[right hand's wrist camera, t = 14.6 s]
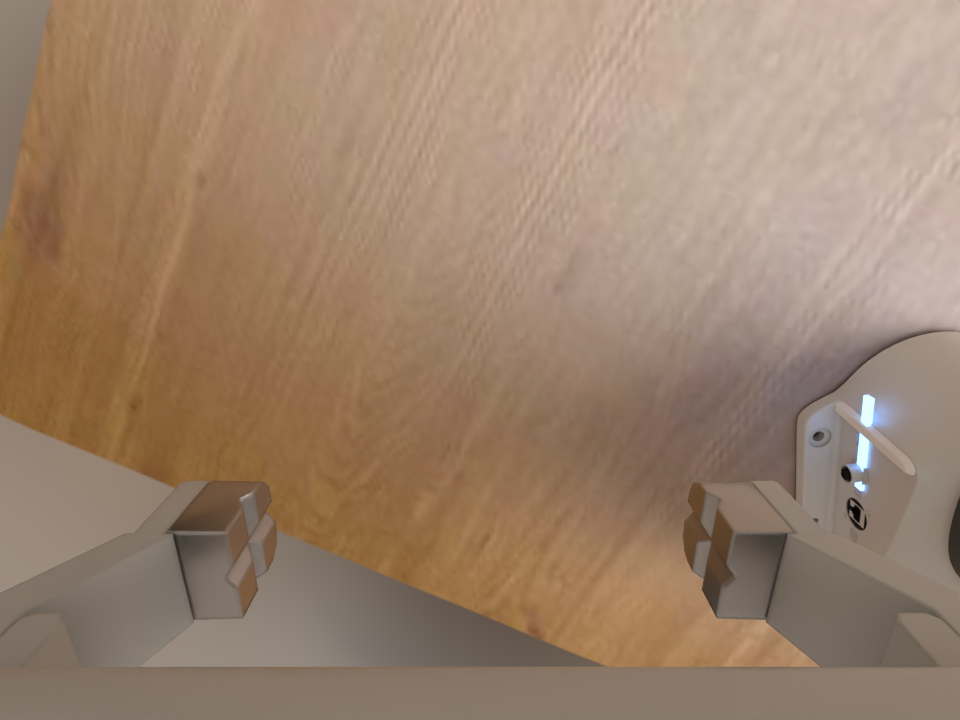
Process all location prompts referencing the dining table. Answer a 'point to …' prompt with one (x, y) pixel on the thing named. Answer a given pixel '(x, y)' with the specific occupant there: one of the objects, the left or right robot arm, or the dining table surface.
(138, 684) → the right robot arm
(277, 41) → the dining table surface
